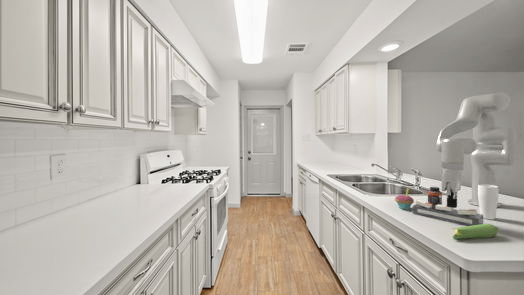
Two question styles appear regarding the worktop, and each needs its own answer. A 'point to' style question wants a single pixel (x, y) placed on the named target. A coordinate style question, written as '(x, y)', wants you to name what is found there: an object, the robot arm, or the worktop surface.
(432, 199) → the supplement bottle
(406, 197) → the cupcake
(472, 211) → the block
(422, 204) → the rocker
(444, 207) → the plate
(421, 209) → the rocker switch panel
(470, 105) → the robot arm
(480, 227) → the edible corn
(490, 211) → the drinking glass
